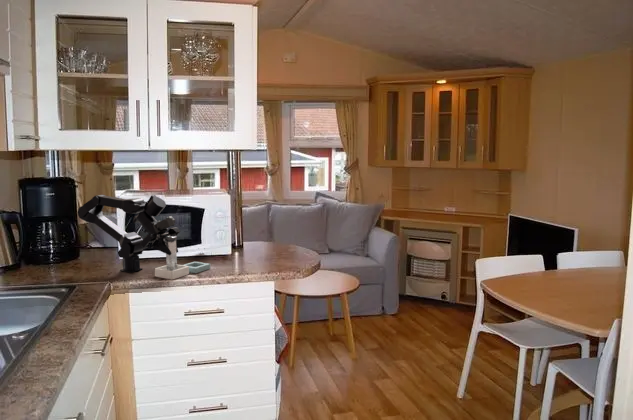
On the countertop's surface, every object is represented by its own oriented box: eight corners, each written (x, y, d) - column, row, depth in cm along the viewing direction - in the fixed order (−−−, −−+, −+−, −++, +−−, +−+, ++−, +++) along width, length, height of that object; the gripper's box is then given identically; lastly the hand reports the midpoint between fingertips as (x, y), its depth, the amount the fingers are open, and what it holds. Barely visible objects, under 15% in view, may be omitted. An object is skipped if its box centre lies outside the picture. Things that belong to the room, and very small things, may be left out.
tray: (154, 276, 203) (154, 268, 203) (172, 270, 211) (172, 263, 211) (172, 279, 198) (171, 271, 198) (189, 273, 207) (189, 266, 206)
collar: (180, 270, 212) (180, 265, 211) (194, 266, 219) (194, 261, 219) (195, 273, 208) (195, 268, 207) (210, 268, 215) (210, 263, 215)
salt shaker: (163, 268, 205) (162, 236, 203) (175, 267, 208) (174, 235, 206) (168, 271, 201) (167, 238, 199) (179, 269, 204) (178, 237, 202)
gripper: (145, 213, 194) (171, 245, 192) (175, 207, 211) (199, 236, 209) (129, 233, 198) (154, 263, 196) (160, 225, 215) (183, 253, 213)
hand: (174, 253), depth 203 cm, fingers closed on salt shaker, 4 cm apart
